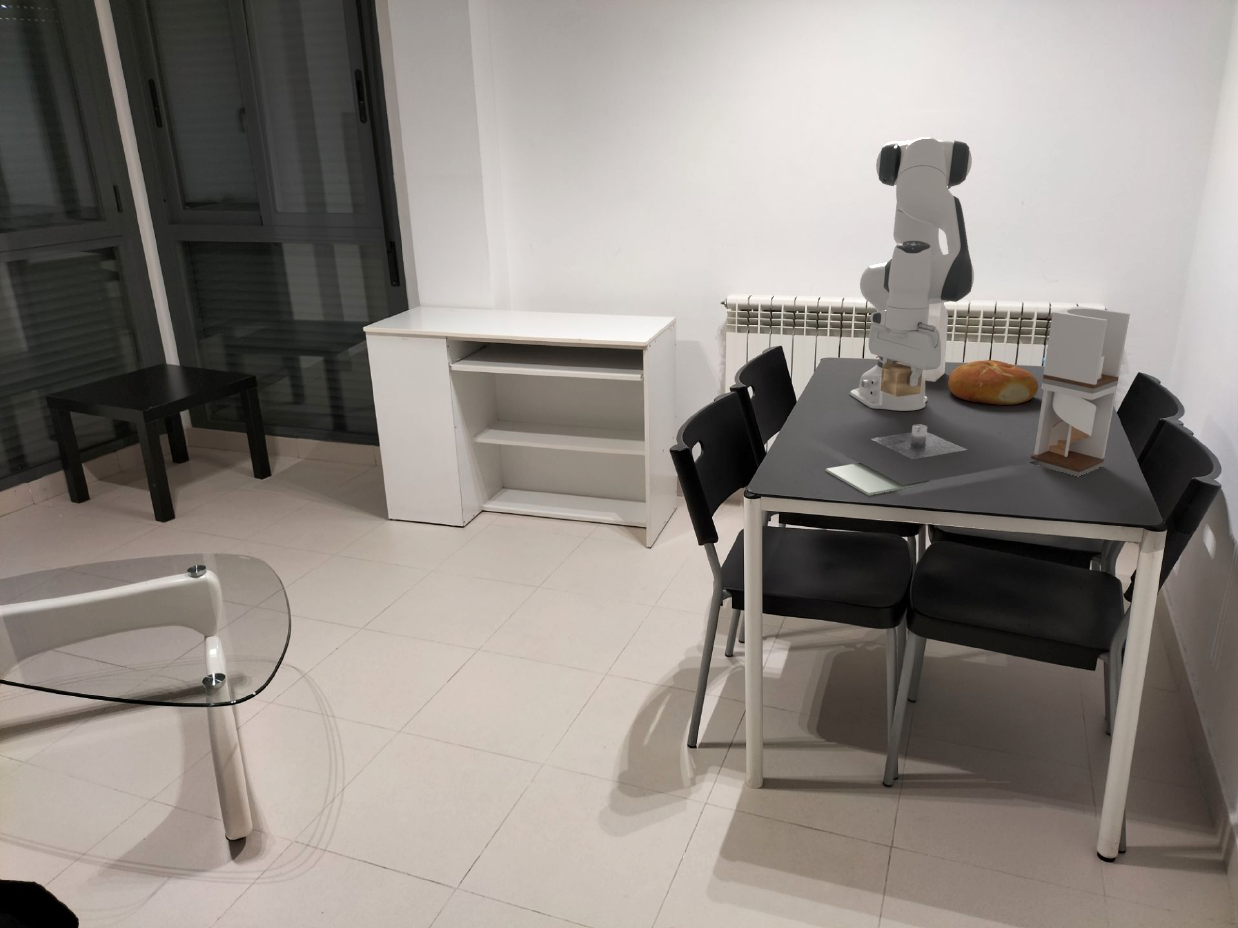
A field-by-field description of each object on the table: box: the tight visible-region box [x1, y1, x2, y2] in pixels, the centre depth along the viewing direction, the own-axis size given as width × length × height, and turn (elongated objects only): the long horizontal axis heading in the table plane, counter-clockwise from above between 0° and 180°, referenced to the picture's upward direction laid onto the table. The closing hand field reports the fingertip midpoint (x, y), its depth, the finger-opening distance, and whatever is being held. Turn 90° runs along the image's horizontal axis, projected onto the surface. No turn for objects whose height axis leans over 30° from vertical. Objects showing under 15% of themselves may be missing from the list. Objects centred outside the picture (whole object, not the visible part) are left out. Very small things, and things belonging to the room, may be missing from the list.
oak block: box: [880, 362, 922, 397], centre depth 203 cm, size 6×6×6 cm
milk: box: [923, 303, 949, 383], centre depth 281 cm, size 12×12×26 cm
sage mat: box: [825, 462, 931, 497], centre depth 205 cm, size 16×16×1 cm
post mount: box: [870, 423, 968, 460], centre depth 220 cm, size 16×16×6 cm
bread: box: [947, 359, 1039, 406], centre depth 260 cm, size 23×23×10 cm
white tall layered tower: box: [1029, 305, 1131, 477], centre depth 204 cm, size 11×11×35 cm
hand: (900, 381), depth 203 cm, fingers closed on oak block, 6 cm apart
